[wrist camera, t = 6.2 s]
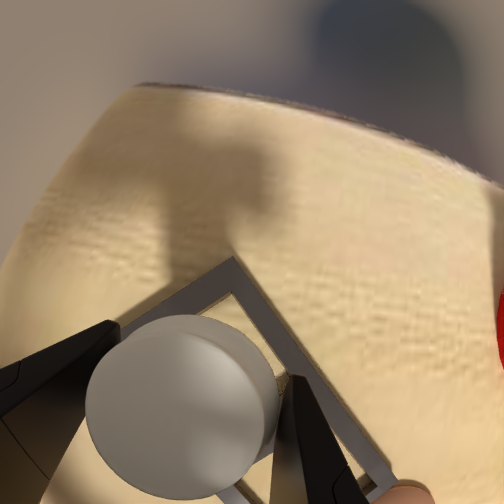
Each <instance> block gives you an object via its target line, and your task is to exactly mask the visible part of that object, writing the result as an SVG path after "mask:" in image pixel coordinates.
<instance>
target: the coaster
mask: <svg viewBox="0 0 504 504" xmlns="http://www.w3.org/2000/svg"><path fill="white" fill-rule="evenodd" d="M370 504H435V502H434V500H433V498H432V496H431V495H430V494H429V493H427V492H426V491H424V490H423V489H421V488H418V487H415V486H407V485H405V486H396V487H391V488H390V489H388V490H387V491H386V492H385V493H383V494H382V495H381V496H380V497H378V498H377V499H376V500H374V501H373V502H372V503H370Z"/></svg>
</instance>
